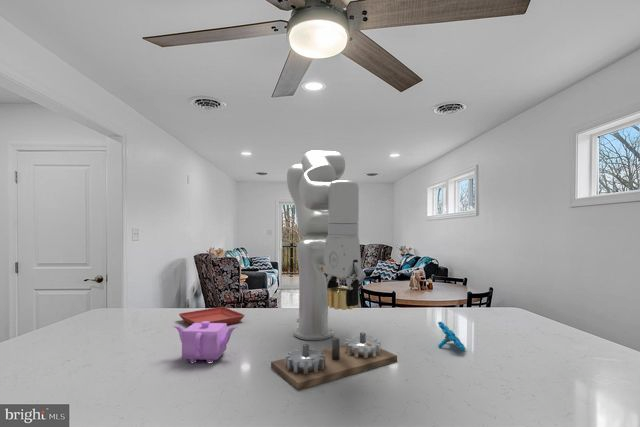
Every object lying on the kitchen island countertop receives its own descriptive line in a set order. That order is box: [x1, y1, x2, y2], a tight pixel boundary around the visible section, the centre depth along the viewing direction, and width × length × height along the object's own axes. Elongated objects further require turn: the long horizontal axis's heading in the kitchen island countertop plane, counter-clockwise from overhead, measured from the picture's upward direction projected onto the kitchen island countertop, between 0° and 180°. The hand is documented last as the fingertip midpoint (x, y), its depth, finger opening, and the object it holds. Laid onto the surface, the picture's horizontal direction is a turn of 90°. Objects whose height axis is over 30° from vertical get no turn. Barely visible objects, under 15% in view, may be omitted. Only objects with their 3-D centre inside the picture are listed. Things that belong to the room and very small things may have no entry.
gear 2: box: [344, 332, 382, 358], centre depth 96 cm, size 10×10×5 cm
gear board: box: [270, 337, 398, 391], centre depth 91 cm, size 30×14×6 cm, turn 123°
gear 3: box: [437, 321, 467, 352], centre depth 103 cm, size 11×6×10 cm
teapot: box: [172, 321, 239, 363], centre depth 96 cm, size 18×13×10 cm
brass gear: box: [327, 286, 358, 311], centre depth 87 cm, size 7×7×4 cm
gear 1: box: [285, 343, 325, 374], centre depth 86 cm, size 10×10×5 cm
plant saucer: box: [178, 306, 246, 326], centre depth 130 cm, size 18×18×3 cm
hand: (342, 301), depth 87 cm, fingers closed on brass gear, 7 cm apart
